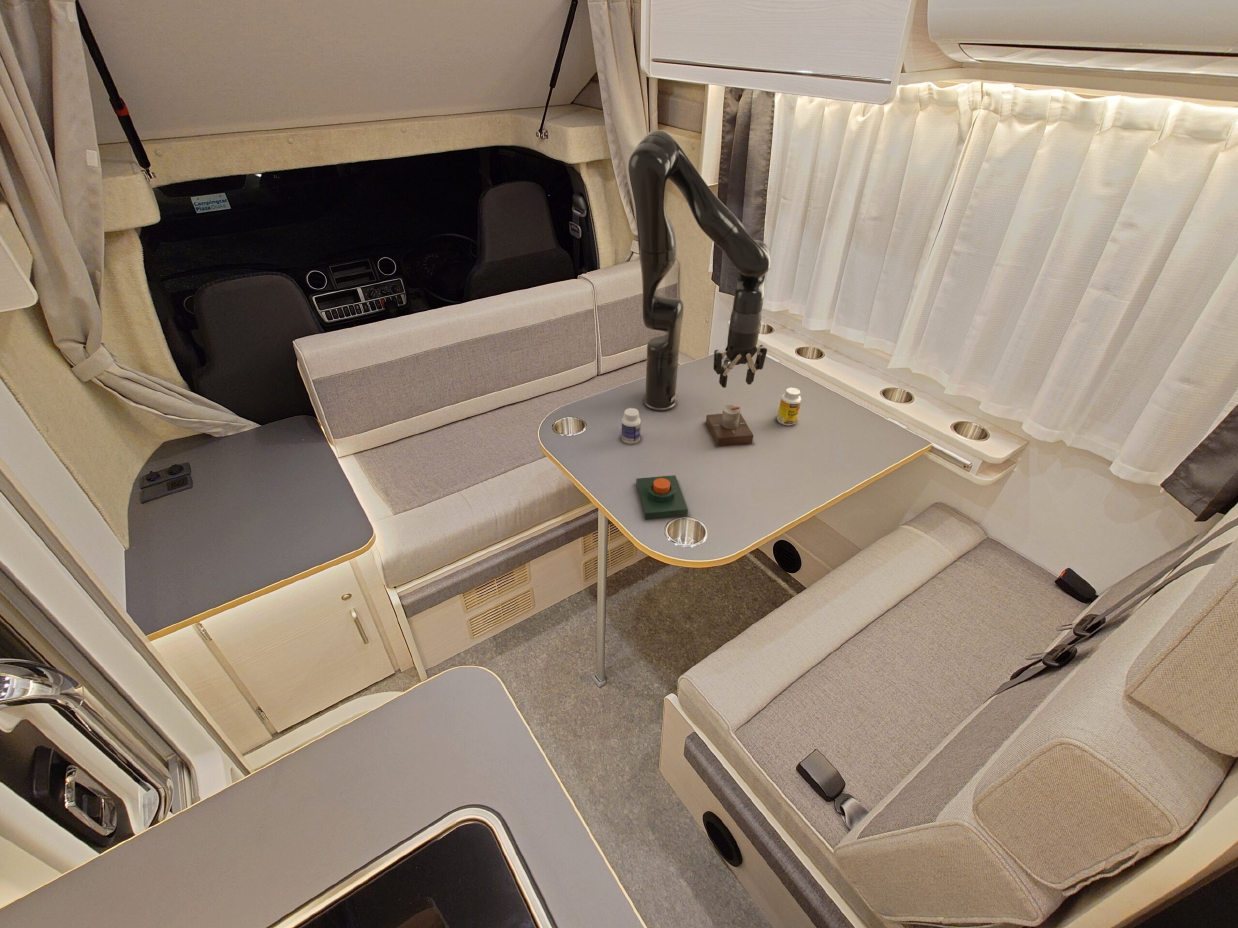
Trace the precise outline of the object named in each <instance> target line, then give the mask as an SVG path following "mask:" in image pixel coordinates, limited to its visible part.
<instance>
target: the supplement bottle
mask: <svg viewBox="0 0 1238 928" xmlns="http://www.w3.org/2000/svg"><path fill="white" fill-rule="evenodd" d="M801 404H802V397H801V391H800V389H798V388H796V387H788V388H786V390H785V392H784V393H783V394H782V395H781V398H780V402H779V407H778V412H777V416H776V420H777V422H778V423H779V424H781V425H784V426H793V425H795V424H796V423H797V419H798V415H799V411H800V408H801Z"/></svg>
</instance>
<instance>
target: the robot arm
mask: <svg viewBox="0 0 1238 928" xmlns="http://www.w3.org/2000/svg"><path fill="white" fill-rule="evenodd" d="M627 165H628V167H627V168H628V176H629V182H630V188H631V191H632V196H633V202H634V207H635V219H636V229H637V245H638V256H639V264H640V272H641V284H642V286H641V287H642V321H643V324H644V327H645V328H646V329H649V330H653V331H659V332H667V334H664V335H659V336H656V337H653V338H651V339H649V341H648V342H647V345H646V366H645V367H646V370H645V389H644V392H645V393H644V396H645V397H644V405H645V407H647V408H649V409H651V410H653V411H660V412H662V411H668V410H671V409H673V408H674V407H675V406H676V398H677V397H678V393H676V392H677V380H678V369H679V368H678V367H679V355H680V343H681V335H682V334H681V333H682V325H683V318H684V302H683V300H682V299H681V298H677V297H671V296H662V295H658V294H657V290H658V288H659V286H660V284H661V283H662V281H663V280H664V279H665V278H666V276H667V275H668V274H669V272H670V271H671V270H672V269H673V267H674V265H675V262H676V260H677V236H676V231H675V228H674V225H673V223H672V222H671V220H670V218H669V216H668V215H667V212H666V202H665V201H666V198H665V196H666V194H665V193H666V184H667V181H668V180H669V181H670V182H671V183H672V184H673V185H674V186H676V188H677V189H678V191H680V193H681V194H682V196H683V198H684V199H685V201H686V203H687V206H688V207H689V210H690V212H691V214H692V216H693V218H694V220H695V222H696V224H697V225H698V227H699V228H700V229H701V231H702V232H703V233H704V234H705V235H706V236H707V237H708V238H709V239H710V240H711V241H712V242H713V243H714V244H715V245H716V246H718V248H720V249H721V250H722V251H723V253H724V254H725V255H726V257H727V258H728V259H729V260H730V262H731V263H732V264H733V266H734V267H735V269H737V280H736V287H735V291H734V297H733V302H732V310H731V312H730V313H731V314H730V319H729V326H728V334H727V340H726V348H724V349H723V350H719V349H715V350H714V351H713V370H714V372H715V373H716V374H717V375H719V380H718V384H719V385H720V386H721V387H722V388H723V389H725V388H727V384H728V377H729V376H728V374H729V372H730V371H731V370H733V368H734V367H735V366H739V365H747V369H746V375H745V383H746V384H747V385H752V383H754V381H755V374H756V372H757V371H759V370H760V371H761V370H763V369H764V365H765V361H766V357H767V353H768V349H767V348H766V346H764V344H760V345H759V346H757V345H758V341H759V336H760V330H761V323H762V311H763V306H764V305H763V304H764V298H765V282H766V276H767V273H768V271H769V270H770V267H771V261H772V260H771V253H770V249H769V247H768V245H767V244H766V243H764V241H762V240H759V239H754V238H753V237H752V236H751V235H750V234H749V233H748V232H747V230H746V228H745V225H744V223H742V222H741V220H740V219H739V218H738V217H737V216H736V215H735V214H734V213H733V212H732V211H731V210H730V209H729V208H728V207H727V206H726V205H725V204H724V203H723V202H722V201H721V200H720V199H719V197H718V196H717V195H716V194H715V193H714V192H713V190H712V189H711V188H710V187H709V185H708V184H707V183H706V181H705V179H704V178H703V177H702V176H701V174H700V172H699V171H698V170H697V168H696V167H695V166H694V164H693V162H691V160H690V158H689V157H688V155H687V154H686V153H685V151H684V150H683V148H682V147H681V145H680V144H679V143H678V142H677V141H676V139H675V138H674V137H673V136H672V135H671V134H670V133H668V132H667V131H665V130H661V129H654V130H651V131H649V132H647V134H646V135H644V137H643V138H642V139H641V141H640V142H639V143H638V144H637V146H635V148H634V149H633V150H632V152H631V153H630V156H629V159H628V164H627ZM755 354H756V357H755V361H754V360H753V357H754V356H755ZM725 356H726V357H725Z"/></svg>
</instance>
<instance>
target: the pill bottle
mask: <svg viewBox="0 0 1238 928" xmlns="http://www.w3.org/2000/svg"><path fill="white" fill-rule="evenodd" d="M641 426H642V421H641V418H640V412H639V409H637V408H633V407H629V408H626V409H625V410H624V411H623V417H622V419H621V434H620V435H621V437H620V438H621V440H622V442H623V443H625V444H633V445H634V444H636V443H639V442H640V440H641V429H642V427H641Z"/></svg>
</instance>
